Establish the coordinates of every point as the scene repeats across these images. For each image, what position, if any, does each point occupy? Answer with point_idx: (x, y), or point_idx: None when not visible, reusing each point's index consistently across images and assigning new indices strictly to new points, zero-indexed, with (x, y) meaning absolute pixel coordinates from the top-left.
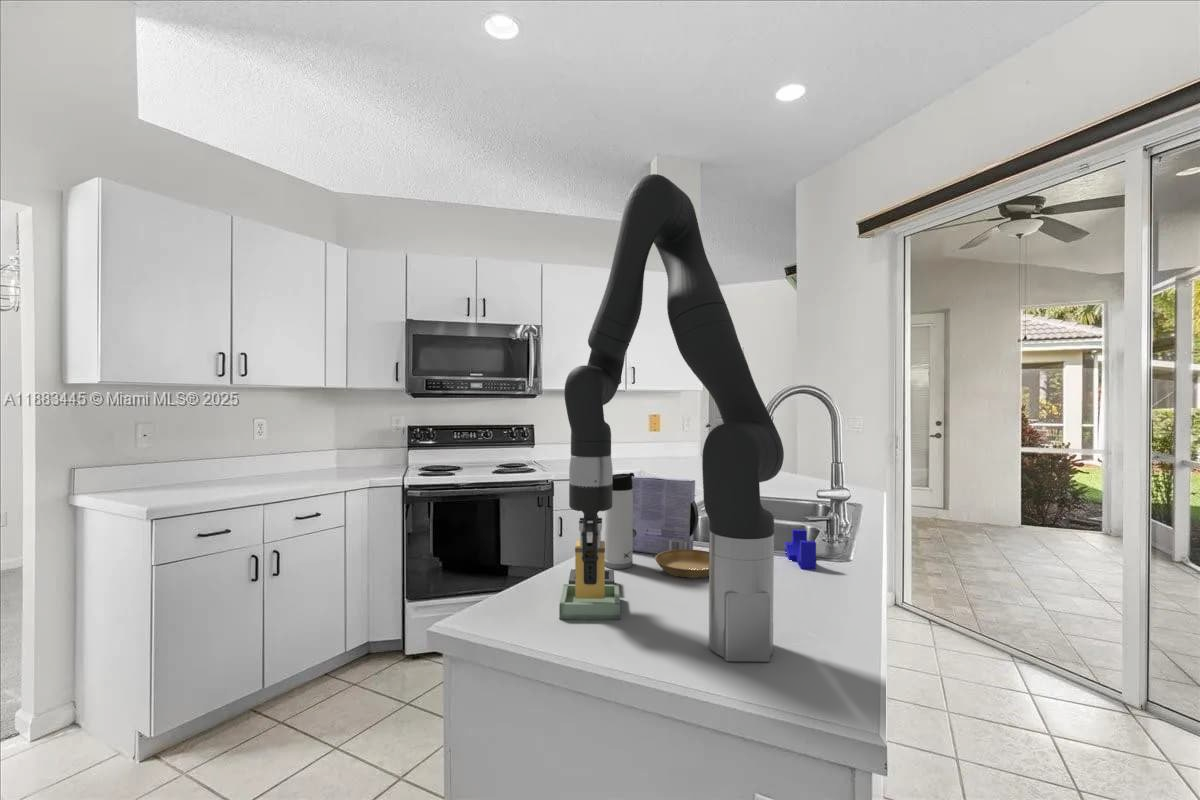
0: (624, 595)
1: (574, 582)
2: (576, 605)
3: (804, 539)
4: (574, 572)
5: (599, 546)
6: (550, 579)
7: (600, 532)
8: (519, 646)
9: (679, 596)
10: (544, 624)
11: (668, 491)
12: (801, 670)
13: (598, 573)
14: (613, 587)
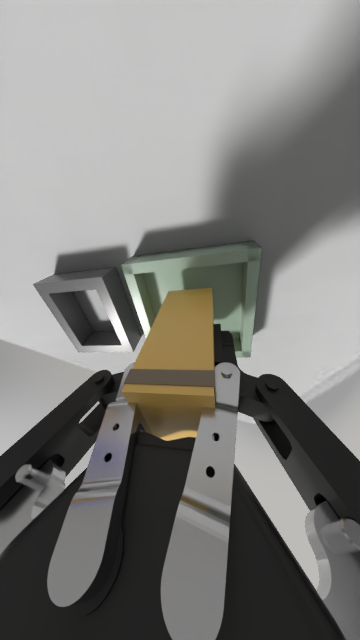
0: (112, 245)
1: (131, 342)
2: (252, 333)
3: None
4: (90, 347)
5: (235, 415)
6: (94, 360)
7: (126, 454)
8: (340, 372)
9: (47, 43)
10: (264, 354)
11: None
12: None
13: (213, 333)
14: (135, 274)
